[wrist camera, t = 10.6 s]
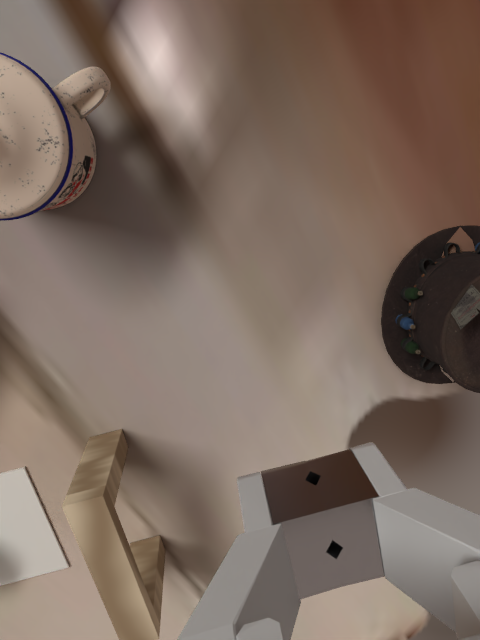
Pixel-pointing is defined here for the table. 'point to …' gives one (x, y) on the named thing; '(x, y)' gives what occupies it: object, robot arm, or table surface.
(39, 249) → the table surface
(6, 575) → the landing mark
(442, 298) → the top hat
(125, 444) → the bridge
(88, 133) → the teacup with lid
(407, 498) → the robot arm
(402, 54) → the table surface
